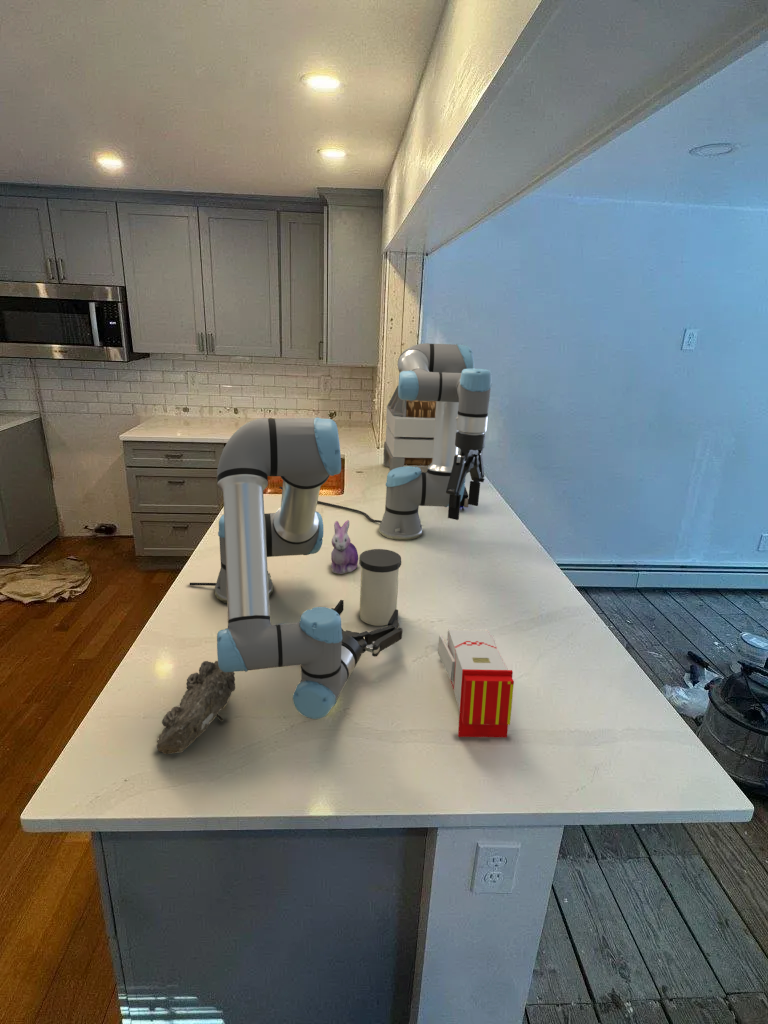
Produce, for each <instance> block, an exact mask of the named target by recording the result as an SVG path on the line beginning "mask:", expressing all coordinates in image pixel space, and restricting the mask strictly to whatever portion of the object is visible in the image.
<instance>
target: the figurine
mask: <svg viewBox="0 0 768 1024" xmlns="http://www.w3.org/2000/svg"><path fill="white" fill-rule="evenodd" d="M333 524H334V525H333V527H334V529H333V530H334V534H333V536H332V538H331V545H332V547H333V548H332V551H331V554H330V555H331V556H330V559H331V560H330V561H331V564H330V569H331V571H332V573H335V574H339V575H342V574H346V573H351V572H353V571H355V570H356V569H357V567H358V564H359V553H358V550H357V547H356V546H355V544H353V543H352V542H351V538H350V536H349V534H348V531H349V529H350V520H348V519H347V520H345V521H344V523H343V524H342V526H341V524H340V523H339V521H338V520H336V521H334V523H333Z"/></svg>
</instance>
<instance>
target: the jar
mask: <svg viewBox="0 0 768 1024" xmlns="http://www.w3.org/2000/svg"><path fill="white" fill-rule="evenodd" d="M399 572H400V567H399V568H398V569H397V570H395V571H391V572H384V573H381V572H372V571H368V570H366V569H364V568H362V567H361V566H360V586H359V587H360V590H359V619H360V620H361V621H362V622H363V623H365V624H368V625H371V626H376V627H377V626H388V622H389V620H390V618H391V616H392V614H393V613H394V611H395V609H396V610H398V609H397V608H398V591H399Z"/></svg>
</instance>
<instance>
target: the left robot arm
mask: <svg viewBox="0 0 768 1024" xmlns="http://www.w3.org/2000/svg"><path fill="white" fill-rule="evenodd" d="M339 436H340V435H339V428H338V425H337V422H336V421H335V420H333V419H331V418H320V417H318V416H317V417H298V418H293V417H290V418H289V417H288V418H268V417H261V418H256V419H253V420H250V421H248V422H246V423H245V424H243V425H242V426H240V427H239V428H238V429H237V430H236V431H234V433H232V435H231V436H230V438H229V439H228V441H227V442H226V444H225V446H224V447H223V449H222V452H221V455H220V457H219V460H218V464H217V469H216V474H217V475H216V481H217V482H216V483H217V484H216V486H217V487H218V490H220V491H222V499H223V500H222V501H223V514H222V515H221V516H220V518H219V520H218V531H217V535H218V537H219V557H220V559H219V560H220V569H219V573H218V576H217V580H216V582H189V586H211V587H212V586H213V587H214V593H215V597H216V599H217V600H219V601H221V602H222V603H225V604H226V607H227V628H224V629H220V630H219V631H217V633H216V635H217V636H216V654H217V655H216V656H217V661H218V666H219V668H220V669H221V670H222V671H223V672H234V673H235V672H237V673H238V672H245V673H246V672H248V671H256V670H266V669H273V668H282V667H283V668H284V667H294V666H295V667H296V666H300V681H299V683H298V684H296V687H295V690H294V691H293V695H292V702H293V705H294V708H295V710H296V711H297V712H298V713H299V714H300V715H302V716H303V717H305V718H307V719H311V720H312V719H313V720H320V719H323V718H325V717H326V716H328V714H329V713H330V711H331V710H332V708H333V707H334V706H335V705H336V704H337V700H338V699H339V697H340V695H341V693H342V692H343V689H344V688H345V685H346V684H347V682H348V680H349V678H350V677H351V675H352V673H353V672H354V669H355V668H356V666H357V664H358V663H359V661H360V660H361V657H362V655H363V654H364V653H366V652H369V653H371V656H372V657H375V658H376V657H378V656H379V655H380V653H381V652H383V651H384V650H386V649H387V648H389V647H391V646H392V645H394V644H396V643H397V642H399V641H401V640H402V639H403V627H399V626H400V625H399V623H400V621H399V609H397V610H396V609H395V611H394V613H393V614H392V616H391V618H390V620H389V622H388V624H387V625H385V626H383V627H380V628H378V629H377V628H376V629H374V630H371V631H368V630H365V631H361V632H358V631H352V630H348V629H346V630H344V629H343V627H342V617H341V615H342V613H343V611H344V601H345V600H344V599H340V600H339V601H338V603H337V604H336V605H335V607H334V608H333V607H331V608H329V607H326V606H316V607H314V606H313V607H312V608H311V609H309V608H308V609H306V610H305V611H303V612H302V614H301V615H300V618H299V619H300V620H299V622H291V623H281V624H279V623H278V624H272V622H271V607H270V597H271V595H272V594H273V591H274V585H273V583H274V582H273V580H272V576H271V573H270V572H269V570H268V558H274V557H287V556H288V557H290V556H309V555H314V554H317V553H318V552H319V551H320V550H321V549H322V546H323V541H324V540H323V538H324V521H323V517H322V515H321V513H320V512H319V511H316V510H317V505H318V503H317V501H319V495H320V491H321V487H322V486H323V484H325V483H326V482H327V481H328V479H329V478H330V477H333V476H335V475H340V473H341V471H342V455H341V444H340V437H339ZM268 477H280V478H281V480H282V489H281V501H280V506H279V508H277V510H276V512H270V513H265V500H264V491H265V489H266V488H268V486H269V480H268V479H269V478H268Z"/></svg>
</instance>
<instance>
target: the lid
mask: <svg viewBox="0 0 768 1024" xmlns="http://www.w3.org/2000/svg"><path fill="white" fill-rule="evenodd" d="M358 564H359V566H360V568H361V567H362V568H364V569H366V570H368V571H372V572H381V573H384V572H391V571H395V570H397V569H398V568H399V569H400V568H401V566H402V556H401V555H400V554H399V553H398V552H396V551H393V550H390V549H385V548H384V549H383V548H374V549H373V548H372V549H368V550H365V551H363V552H361V553H360V555H359V556H358Z"/></svg>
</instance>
